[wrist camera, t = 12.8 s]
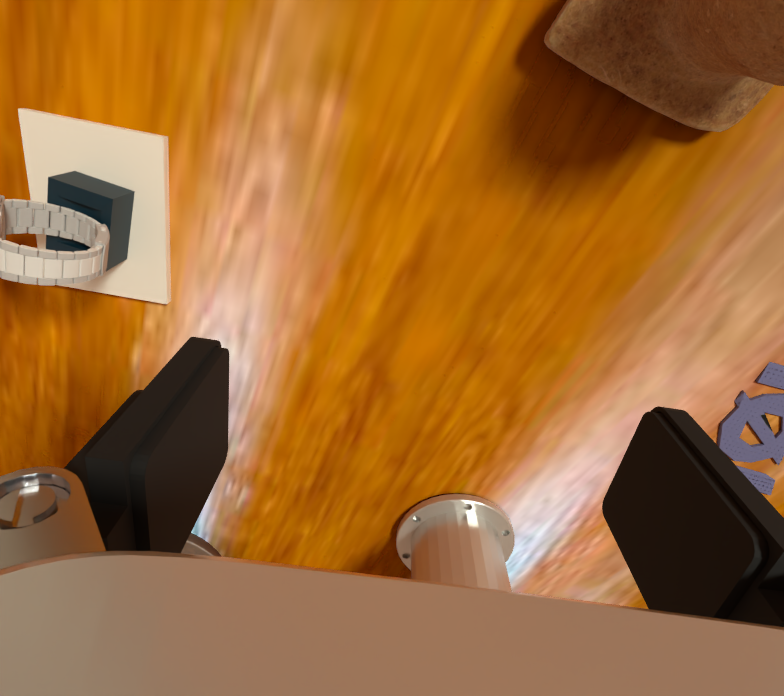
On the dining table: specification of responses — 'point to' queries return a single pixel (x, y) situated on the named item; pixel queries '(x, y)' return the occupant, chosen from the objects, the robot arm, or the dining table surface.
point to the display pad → (117, 166)
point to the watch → (67, 231)
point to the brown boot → (678, 53)
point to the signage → (756, 428)
